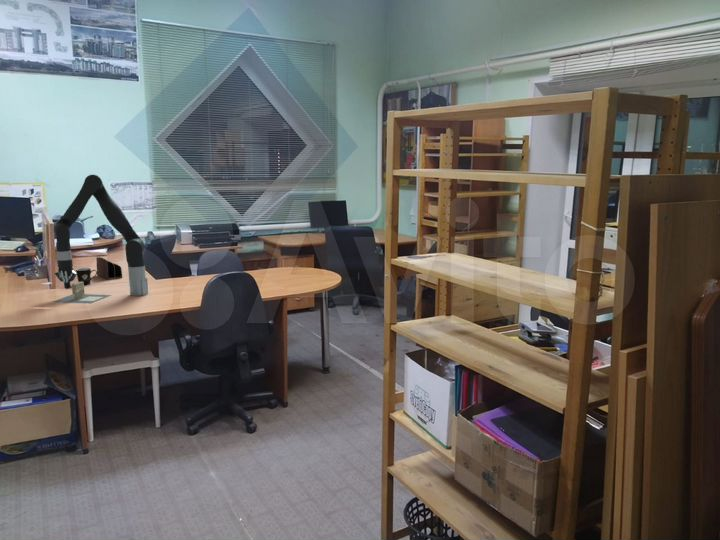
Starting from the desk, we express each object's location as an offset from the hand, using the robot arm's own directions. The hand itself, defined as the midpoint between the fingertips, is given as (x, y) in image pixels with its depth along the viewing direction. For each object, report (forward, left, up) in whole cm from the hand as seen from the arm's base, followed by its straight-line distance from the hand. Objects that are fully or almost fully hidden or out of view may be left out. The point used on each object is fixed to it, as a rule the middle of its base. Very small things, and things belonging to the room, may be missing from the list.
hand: (67, 288), depth 307 cm
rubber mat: (-9, 0, -6) cm, 11 cm away
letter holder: (+15, -65, -7) cm, 67 cm away
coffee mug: (+15, -40, -7) cm, 43 cm away
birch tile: (-7, 0, -6) cm, 9 cm away
